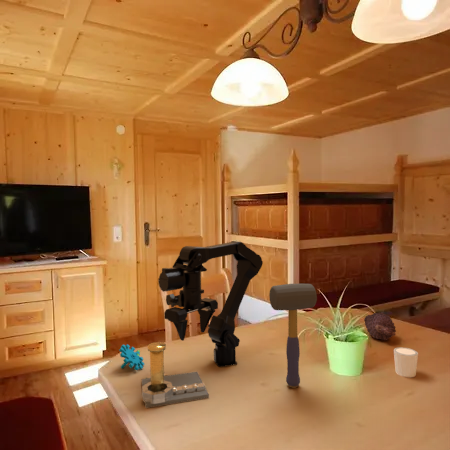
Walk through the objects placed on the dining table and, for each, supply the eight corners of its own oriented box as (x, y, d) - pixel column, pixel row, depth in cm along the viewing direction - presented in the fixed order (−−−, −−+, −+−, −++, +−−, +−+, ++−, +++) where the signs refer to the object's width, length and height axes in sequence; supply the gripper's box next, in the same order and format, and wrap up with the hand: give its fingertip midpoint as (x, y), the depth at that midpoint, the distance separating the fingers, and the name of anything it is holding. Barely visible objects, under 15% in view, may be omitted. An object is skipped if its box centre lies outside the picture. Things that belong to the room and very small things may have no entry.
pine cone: (356, 331, 155) (356, 308, 154) (378, 330, 156) (378, 306, 156) (381, 347, 137) (381, 320, 137) (405, 345, 139) (405, 318, 138)
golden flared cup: (167, 391, 104) (166, 341, 103) (165, 399, 99) (164, 348, 99) (150, 391, 104) (149, 342, 103) (147, 400, 99) (146, 348, 98)
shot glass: (417, 370, 117) (417, 348, 117) (418, 379, 111) (418, 356, 111) (393, 367, 120) (393, 345, 120) (393, 375, 114) (393, 353, 114)
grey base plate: (197, 374, 116) (197, 371, 116) (208, 397, 102) (208, 394, 102) (141, 382, 112) (141, 379, 112) (145, 407, 97) (145, 404, 97)
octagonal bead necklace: (196, 371, 116) (196, 364, 116) (208, 395, 101) (207, 386, 101) (140, 379, 111) (139, 371, 111) (143, 405, 97) (143, 396, 97)
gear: (137, 371, 116) (117, 346, 118) (124, 384, 116) (104, 359, 118) (151, 361, 126) (132, 339, 128) (139, 373, 127) (120, 351, 129)
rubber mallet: (307, 378, 113) (307, 280, 112) (318, 389, 106) (318, 285, 105) (268, 382, 110) (267, 282, 109) (277, 395, 103) (276, 287, 102)
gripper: (193, 279, 128) (194, 323, 129) (151, 288, 114) (152, 339, 114) (218, 283, 121) (219, 330, 122) (177, 293, 107) (178, 347, 107)
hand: (192, 336), depth 117 cm, fingers open, 9 cm apart
